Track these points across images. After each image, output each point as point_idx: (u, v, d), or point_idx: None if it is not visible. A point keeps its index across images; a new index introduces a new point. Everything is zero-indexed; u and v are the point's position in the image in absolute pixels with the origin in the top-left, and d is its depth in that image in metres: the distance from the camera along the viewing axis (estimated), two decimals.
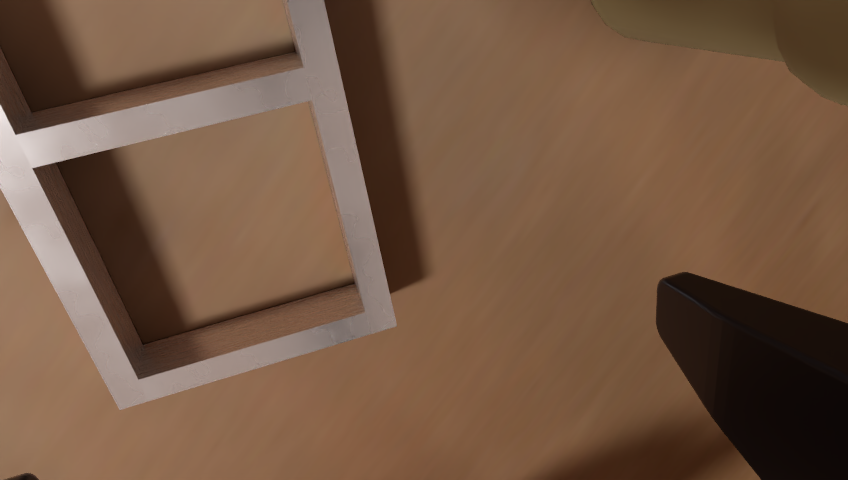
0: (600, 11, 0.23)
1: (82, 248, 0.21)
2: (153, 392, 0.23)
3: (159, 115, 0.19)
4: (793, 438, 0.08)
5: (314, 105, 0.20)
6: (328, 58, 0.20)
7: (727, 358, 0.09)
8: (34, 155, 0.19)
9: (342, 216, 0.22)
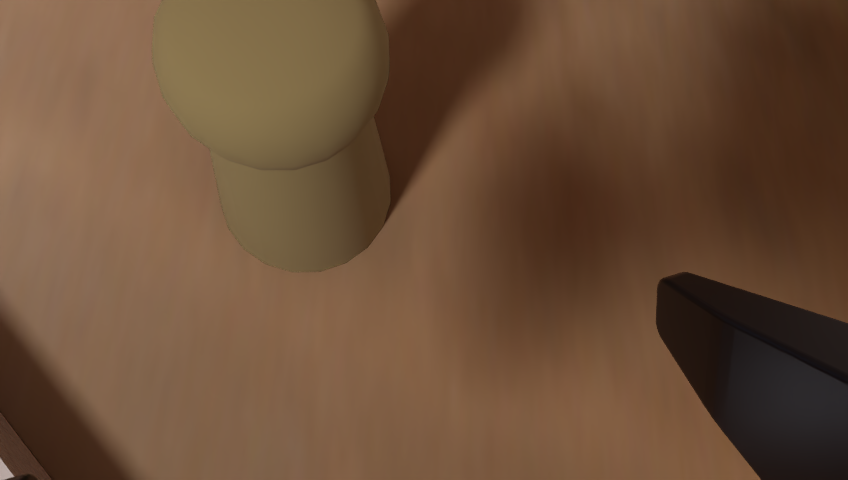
0: (274, 264, 0.23)
1: None
2: None
3: None
4: (793, 438, 0.08)
5: None
6: None
7: (727, 358, 0.09)
8: None
9: None
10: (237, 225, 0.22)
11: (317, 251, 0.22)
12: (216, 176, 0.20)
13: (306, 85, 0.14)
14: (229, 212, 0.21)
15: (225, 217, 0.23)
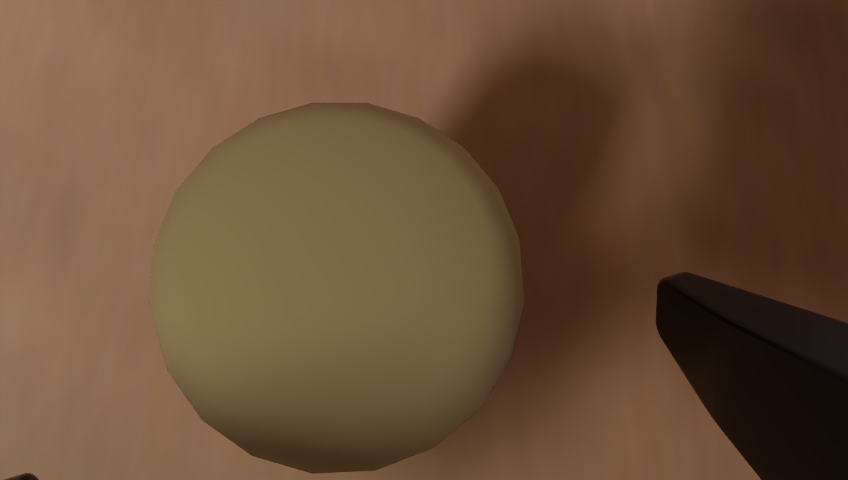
0: None
1: None
2: None
3: None
4: (793, 438, 0.08)
5: None
6: None
7: (727, 358, 0.09)
8: None
9: None
10: None
11: None
12: None
13: (410, 382, 0.08)
14: None
15: None
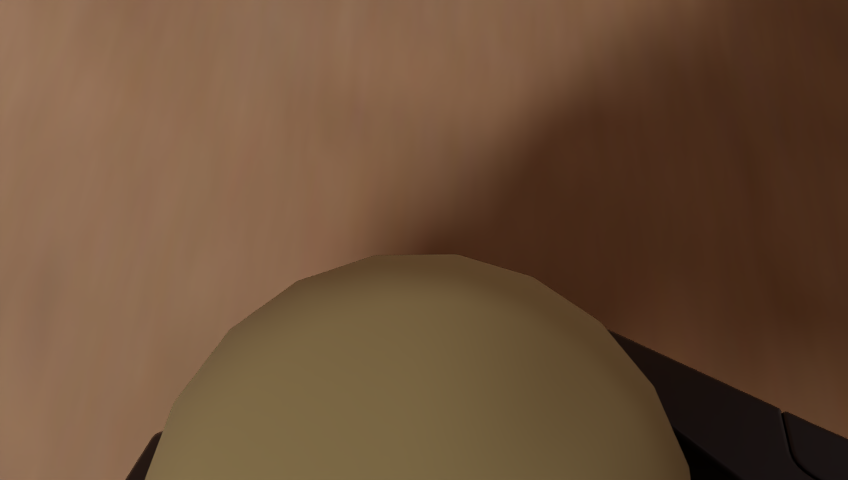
0: None
1: None
2: None
3: None
4: None
5: None
6: None
7: None
8: None
9: None
10: None
11: None
12: None
13: None
14: None
15: None
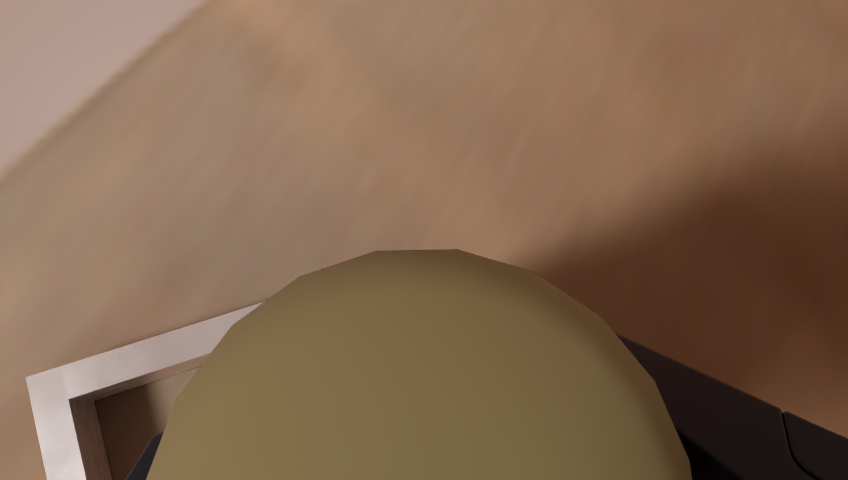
0: None
1: None
2: None
3: None
4: None
5: None
6: None
7: None
8: None
9: None
10: None
11: None
12: None
13: None
14: None
15: None
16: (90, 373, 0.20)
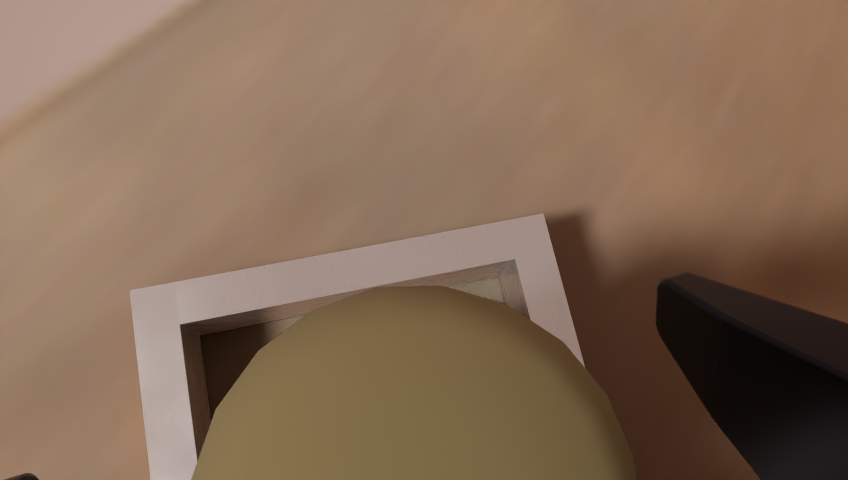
0: None
1: None
2: None
3: None
4: (793, 438, 0.08)
5: None
6: None
7: (727, 358, 0.09)
8: None
9: None
10: None
11: None
12: None
13: None
14: None
15: None
16: (210, 295, 0.16)
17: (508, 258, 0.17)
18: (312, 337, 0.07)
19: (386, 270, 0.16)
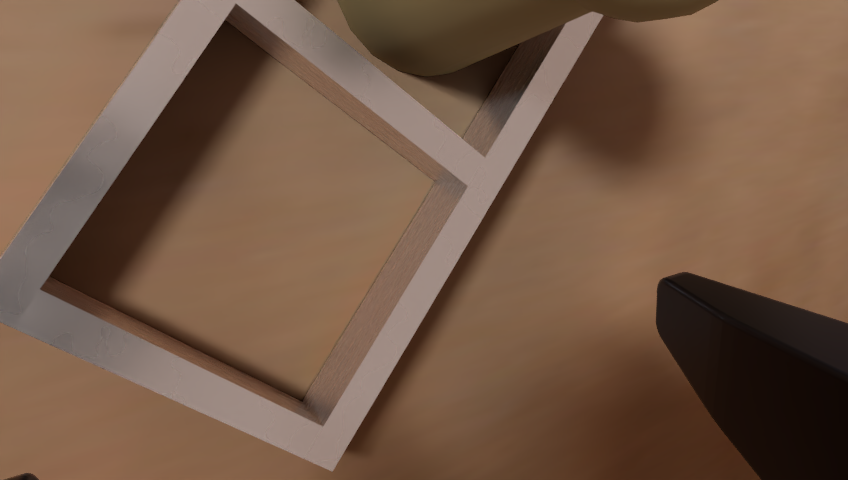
0: (345, 7, 0.19)
1: None
2: (32, 321, 0.15)
3: (367, 78, 0.18)
4: (793, 438, 0.08)
5: (465, 191, 0.20)
6: (504, 169, 0.20)
7: (727, 358, 0.09)
8: None
9: (398, 304, 0.19)
10: None
11: (405, 42, 0.19)
12: None
13: None
14: None
15: None
16: None
17: None
18: None
19: None
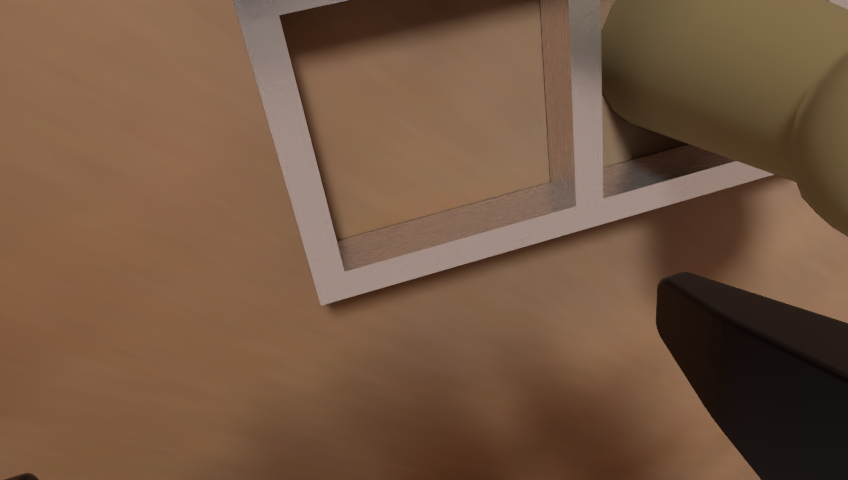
0: (612, 16, 0.22)
1: None
2: (254, 31, 0.17)
3: (589, 79, 0.21)
4: (793, 438, 0.08)
5: (571, 208, 0.23)
6: (605, 217, 0.23)
7: (727, 358, 0.09)
8: None
9: (462, 239, 0.22)
10: None
11: (632, 77, 0.21)
12: None
13: None
14: None
15: None
16: None
17: None
18: None
19: None
